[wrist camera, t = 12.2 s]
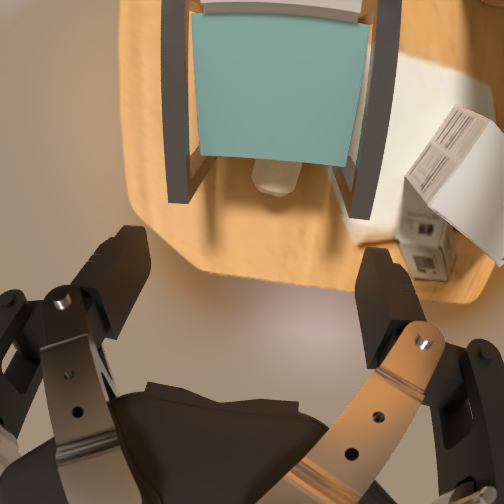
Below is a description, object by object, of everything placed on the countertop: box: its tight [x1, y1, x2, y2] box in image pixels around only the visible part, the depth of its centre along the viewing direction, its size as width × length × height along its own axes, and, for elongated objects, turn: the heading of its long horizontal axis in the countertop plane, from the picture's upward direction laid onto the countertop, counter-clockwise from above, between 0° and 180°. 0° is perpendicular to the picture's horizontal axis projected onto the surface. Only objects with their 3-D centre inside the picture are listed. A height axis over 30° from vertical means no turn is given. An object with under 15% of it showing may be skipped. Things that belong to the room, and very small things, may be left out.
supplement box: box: [405, 105, 504, 267], centre depth 33 cm, size 17×13×9 cm
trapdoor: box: [191, 0, 370, 167], centre depth 24 cm, size 17×14×2 cm
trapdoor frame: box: [161, 0, 402, 220], centre depth 29 cm, size 21×19×13 cm
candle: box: [251, 158, 303, 197], centre depth 37 cm, size 6×6×10 cm
